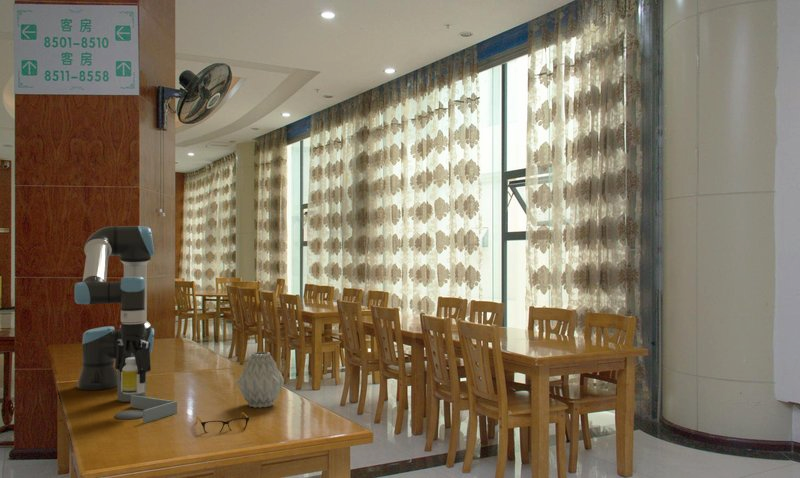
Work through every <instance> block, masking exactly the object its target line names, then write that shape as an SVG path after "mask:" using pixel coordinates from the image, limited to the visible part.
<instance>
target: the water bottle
mask: <svg viewBox="0 0 800 478" xmlns="http://www.w3.org/2000/svg"><path fill="white" fill-rule="evenodd" d="M145 336H147V331H146V328H145V333H144V334H143V339H144V341H145ZM122 338H123V335H122ZM146 342H147V341H146ZM131 357H135V356H134V354H133V353H131ZM119 365H120V364H119ZM117 376H118V386H117V401H119V402H122V403H131V395H129V394H124V393H123V392H121V380H120V371H119V370H118V369H117ZM132 395H135V396H142V397H147V381H146V382H145V392H143V393H140V394H132Z"/></svg>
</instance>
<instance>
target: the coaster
mask: <svg viewBox="0 0 800 478" xmlns="http://www.w3.org/2000/svg"><path fill="white" fill-rule="evenodd" d="M143 410H144V409H130V410H124V411H120V412H117V413H116V414H115V415H114V418H115V419H118V420H137V419H143Z"/></svg>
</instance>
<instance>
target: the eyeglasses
mask: <svg viewBox="0 0 800 478" xmlns="http://www.w3.org/2000/svg"><path fill="white" fill-rule="evenodd" d="M243 415H244V417H242V416H243ZM235 420H236V421H237V420H245V426H244V427H243V428H242V430H245V429H246V428H247V426H248V422H249V420H250V418H249V416H248V415H247V414H246V413H245V412H244V411H242V412H241V413H240V417H239V418H233V419H231V420H225V421H223V420H211V421H210V420H209V421H202V420H201V418H200V417H199V416H197V417H196V424H197V423H198V421H199V422H200V424H201V426H202V429H203V431H204V433H205V434H208V433H209V432H208V431H207V430H206V428H205V427H206V424H207V423H217V422H218V423H222V426H221V427H222V428H221V429H220V430H219V431H218V432H219V433H221V432H223V430H224V427H225V425H227V426H228V429H229V431H233V430H232V428H231V427H230V422H232V421H235Z"/></svg>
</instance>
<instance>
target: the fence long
mask: <svg viewBox="0 0 800 478" xmlns="http://www.w3.org/2000/svg"><path fill="white" fill-rule="evenodd" d="M170 402H174V401H173V400H171V399H170V400H168V399H161V398H155V397H149V396H146V397H142V396H135V395H131V402H130V408H135V409H140V410H146V409H150V408H153V407H157V406H160V405H163V404H167V403H170Z"/></svg>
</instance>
